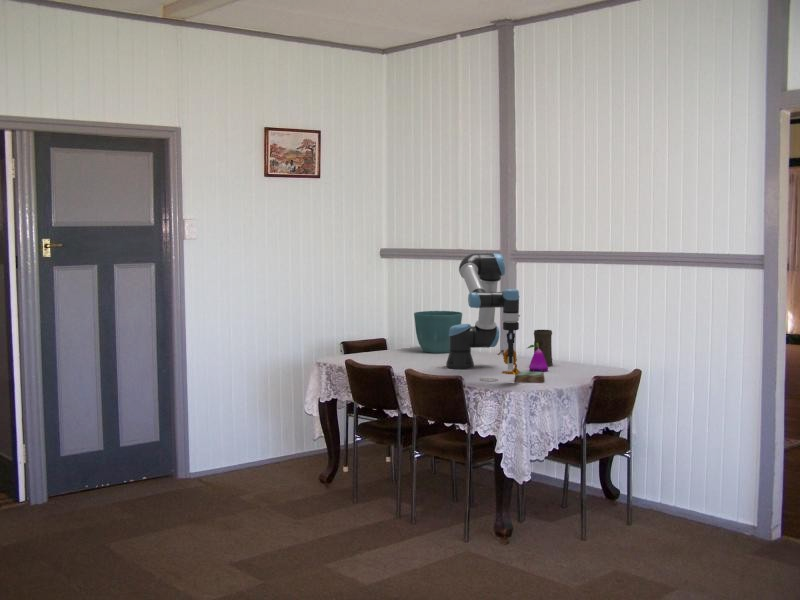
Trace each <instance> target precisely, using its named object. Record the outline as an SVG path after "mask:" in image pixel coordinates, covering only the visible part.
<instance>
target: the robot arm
mask: <svg viewBox="0 0 800 600" xmlns="http://www.w3.org/2000/svg"><path fill="white" fill-rule="evenodd" d="M504 259H505V258H504V256H503V254H501V253H495V252H494V253H471V254H468V255H466V256H465V257H464V258H463V259H462V260H461V262H460V263H459V267H458V272H459V275H460V276H461V278H462V279H463V280H464V283H465V285H466V287H467V290H468V292H469V293H468V297H467V303H468V306H469V307H470V308H473V309H478V320H477V321H475V323H474V324H475V325H473V326H472V325H471V324H470V323H461V324H459V325H454V326H452V327H451V328H450V331H449V352H448V356H447V360H446V364H445V365H446V366H445V367H446V368H448V369H453V370H455V369H456V370H468V369H473V368H474V367H475V363H474V362H475V361H474V359H473V355H472V349H473V348H474V349H476V348H477V349H478V348H479V349H480V348H483V349H484V348H488V349H489V348H494V347H496V346H497V345H498V343H499V340H500V327H499V326H498V325H497V322H495V316H496V308H502V321H503V322H502V329H503V331H508V332H507V333H506V342H507V349H508V355H506V356H508V364H507V371H509V370H513V369H514V367H515V365H513V355H514V354H513V350H514V351H515V349H514V343H515V338H516V333H514V331H519V329H520V326H519V325H520V323H519V321H520V320H519V319H520V317H521V314H520V291H519V290H518V289H513V288H507V289H503V291H498V282H499V281H501V279H502V277H503V276H505V274H506V264H505V260H504Z"/></svg>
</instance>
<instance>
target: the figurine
mask: <svg viewBox="0 0 800 600" xmlns="http://www.w3.org/2000/svg"><path fill="white" fill-rule="evenodd" d="M500 354H502V357H503V362H504V364H506V365H508V356H506V355H508V348H507V349H506V350H504V349H500V351H499V353H497V354H496V355H498V356H500ZM513 354H514V355H513V365H514V367H513V370H502V372H501V374H504V375H515V374H519V373H520V372H521V370H520V369H518V368H517V367H518V364H517V361H518V358H517V353H516V351H515V349H514V350H513Z"/></svg>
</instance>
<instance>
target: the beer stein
mask: <svg viewBox="0 0 800 600" xmlns="http://www.w3.org/2000/svg"><path fill="white" fill-rule="evenodd" d="M552 335H553V331H552V330H551V329H534V331H533V338H534V342H533V345H535V346H537V345H536V343H538V346H539V349H540V350H541V351H542V353H543V355H544V358H545V361H546V363H547V366H548V368H549V367H553V366H554V363H553V355H552V352H553V351H552V349H553V347H552ZM537 349H538V348H537V347H533V353H534V352H535V351H536V350H537Z"/></svg>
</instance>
